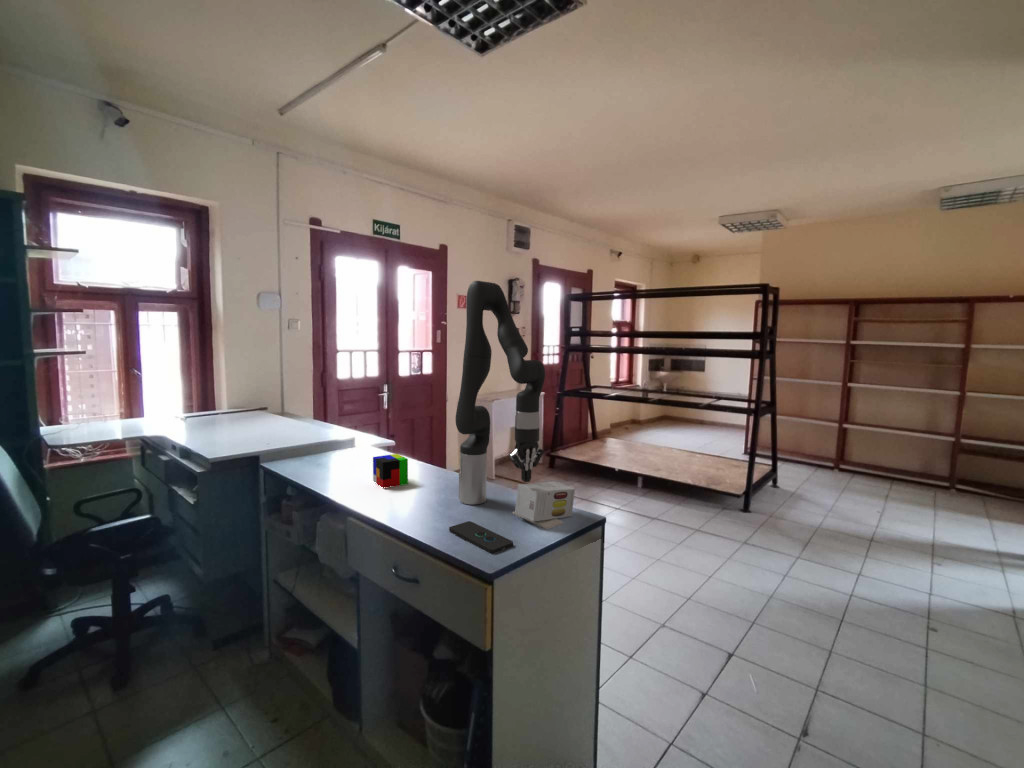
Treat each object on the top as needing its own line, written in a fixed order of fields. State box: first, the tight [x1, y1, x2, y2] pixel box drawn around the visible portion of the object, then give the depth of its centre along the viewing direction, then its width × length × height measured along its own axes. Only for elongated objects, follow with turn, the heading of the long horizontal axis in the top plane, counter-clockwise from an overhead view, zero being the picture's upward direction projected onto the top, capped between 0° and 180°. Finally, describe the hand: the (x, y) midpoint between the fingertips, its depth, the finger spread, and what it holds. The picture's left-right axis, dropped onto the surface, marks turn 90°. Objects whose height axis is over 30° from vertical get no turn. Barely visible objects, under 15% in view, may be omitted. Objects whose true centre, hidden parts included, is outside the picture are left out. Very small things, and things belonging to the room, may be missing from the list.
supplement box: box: [514, 481, 576, 523], centre depth 150 cm, size 10×9×17 cm
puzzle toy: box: [372, 453, 409, 489], centre depth 183 cm, size 10×10×10 cm
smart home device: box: [448, 520, 514, 555], centre depth 134 cm, size 8×2×20 cm
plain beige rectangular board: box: [512, 510, 564, 530], centre depth 149 cm, size 16×7×1 cm, turn 40°
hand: (526, 481), depth 144 cm, fingers closed
